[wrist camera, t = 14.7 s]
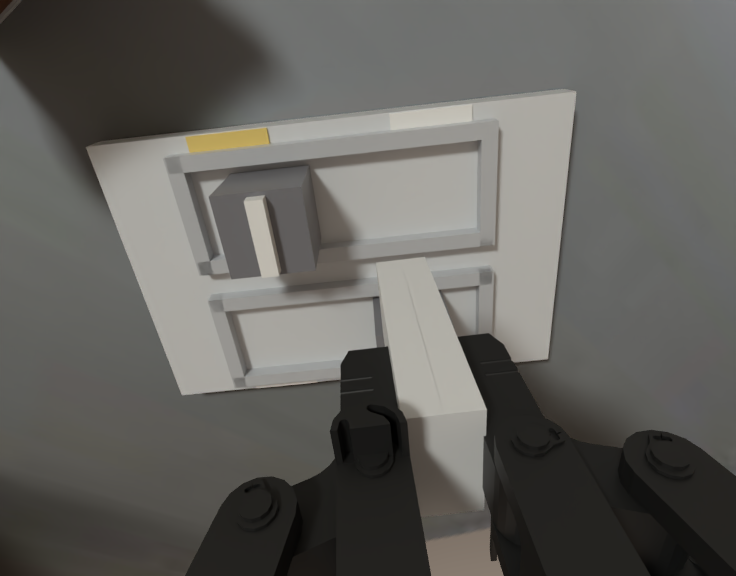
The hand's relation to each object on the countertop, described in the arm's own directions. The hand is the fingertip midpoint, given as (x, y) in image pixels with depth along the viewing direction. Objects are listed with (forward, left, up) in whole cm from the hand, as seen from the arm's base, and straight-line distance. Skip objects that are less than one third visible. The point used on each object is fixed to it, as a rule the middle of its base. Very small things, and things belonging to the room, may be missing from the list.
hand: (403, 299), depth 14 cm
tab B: (-6, 0, -11) cm, 12 cm away
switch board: (-2, -4, -13) cm, 13 cm away
